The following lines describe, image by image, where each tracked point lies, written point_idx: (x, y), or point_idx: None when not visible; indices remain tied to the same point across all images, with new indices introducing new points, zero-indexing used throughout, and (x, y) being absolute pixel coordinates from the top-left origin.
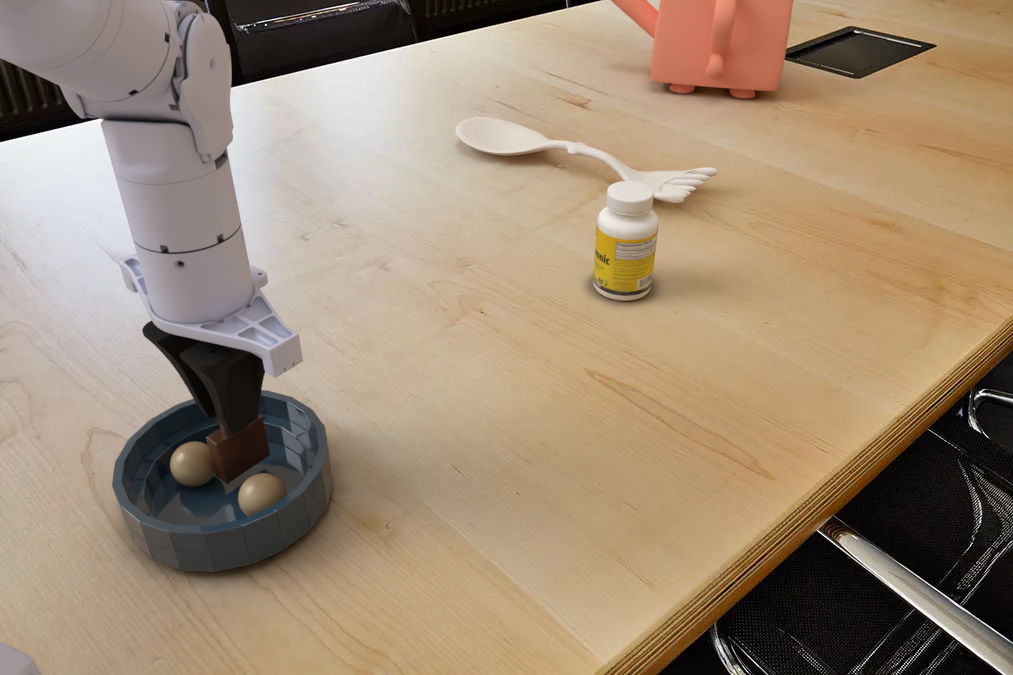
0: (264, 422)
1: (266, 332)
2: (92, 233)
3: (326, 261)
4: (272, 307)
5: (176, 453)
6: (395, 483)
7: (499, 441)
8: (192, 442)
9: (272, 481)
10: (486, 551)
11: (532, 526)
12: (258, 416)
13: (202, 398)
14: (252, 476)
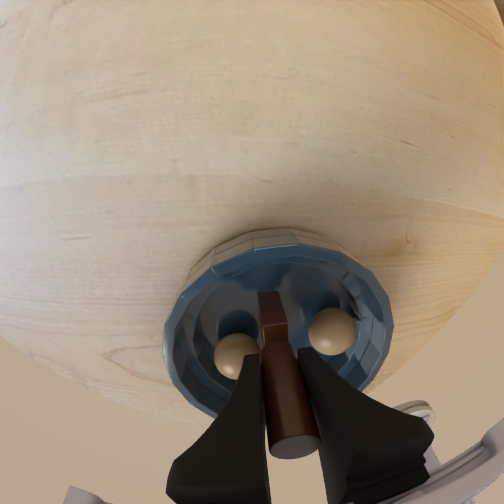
0: (234, 275)
1: (487, 485)
2: None
3: (18, 50)
4: (478, 489)
5: (231, 378)
6: (381, 198)
7: (405, 86)
8: (230, 365)
9: (348, 333)
10: (466, 204)
11: (473, 161)
12: (285, 327)
13: (264, 412)
14: (325, 344)
